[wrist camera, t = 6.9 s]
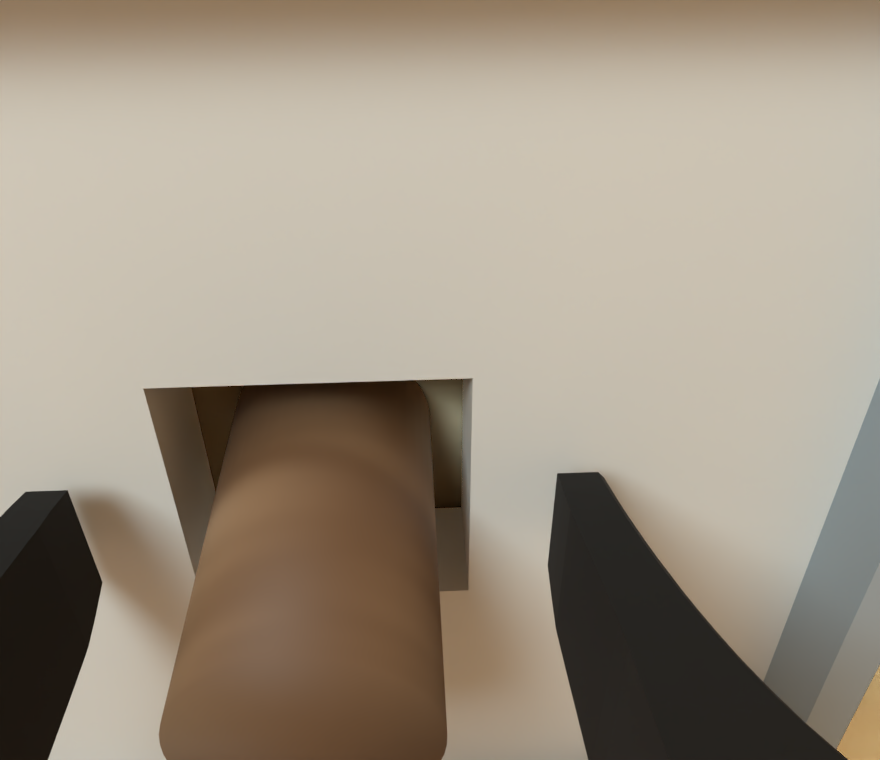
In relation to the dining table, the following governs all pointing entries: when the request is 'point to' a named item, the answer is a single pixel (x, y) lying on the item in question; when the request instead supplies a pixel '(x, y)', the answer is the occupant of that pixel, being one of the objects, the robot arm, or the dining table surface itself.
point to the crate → (460, 307)
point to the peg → (316, 585)
